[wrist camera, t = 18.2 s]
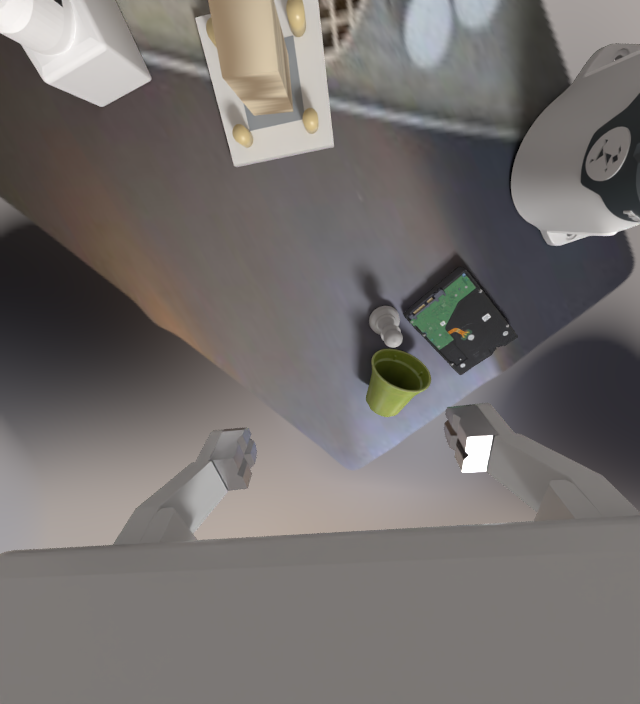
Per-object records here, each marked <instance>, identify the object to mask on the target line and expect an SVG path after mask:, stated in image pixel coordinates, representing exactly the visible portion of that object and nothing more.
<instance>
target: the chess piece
mask: <svg viewBox="0 0 640 704" xmlns="http://www.w3.org/2000/svg"><path fill="white" fill-rule="evenodd" d="M399 323H400V319H399V314H398V312H397V311H396V310H395V309H394V308H393V307H390V306H381V307H379V308H377V309H375V310H374V311H373V312H372V313H371V315H370V318H369V325H370V327H371V328H372V330H373V331H374V332H375V333H377V334H379V335H381V338H382V340H383V341H384V342H385V344H386V345H387V346H388V347H392V348H394V347H398V346H399V345H400V344H401V343H402V340H403V336H402V334H401V330H400V328H399V327H398V326H399Z"/></svg>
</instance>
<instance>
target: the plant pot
mask: <svg viewBox="0 0 640 704" xmlns="http://www.w3.org/2000/svg"><path fill="white" fill-rule="evenodd" d="M371 364H372V375H371V379H370V383H369V387H368V391H367V395H366V401H367V403H368V404H369V406H370V409H371V410H372V411H374V412H375V413H377V414H378V415H381V416H384V417H390V416H395V415H397V414H398V413H399V412H400V411H401V409H402V408H403V407H404V406H405V405H406V404H407V403H408V402H409V401H410V400H411V399H412V398H413V397H414V396H415V395H417V394H418V393H420V392H422V391H424V390H426V389H427V388H428V387H429V385H430V383H431V375H430V372H429V371H428V369H427V368H426V366H425V365H424V364H423V363H422V362H421V361H420V360H418V359H417V358H416V357H414V356H412V355H411V354H408V353H406V352H404V351H401V350H397V349H382V350H379V351H377V352H376V353H375V354H374V355H373V357H372V360H371Z"/></svg>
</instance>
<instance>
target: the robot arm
mask: <svg viewBox="0 0 640 704" xmlns="http://www.w3.org/2000/svg"><path fill="white" fill-rule="evenodd" d="M614 59H615V60H616V61H614ZM613 61H614V62H613ZM511 193H512V198H513V202H514V205H515V207H516V209H517V211H518V212H519V214H520V215H521V216H522V217H523V218H524V219H525V220H526V221H527V222H529V223H531V224H532V225H534V226H536V227H537V228H538V229H539V230H540V231H541V234H542V236H543V238H544V240H545V241H546V243H547V244H549V245H552V246H559V245H563V244H566V243H569V242H572V241H575V240H578V239H581V238H584V237H587V236H590V235H595V236H611V235H615V234H616V233H617V232H618V231H621V230H625V229H628V228H631V227H634V226H636V225H638V224H640V44H610V45H608V46H605V47H603V48H601V49H599V50H597V51H596V52H595V53H594V54H593V55H592V56H591V57H590V59H589V60H588V61H587V63H586V64H585V65H584V67H583V68H582V70H581V71H580V73H579V74H578V76H577V77H576V79H575V80H574V82H573V83H572V84H571V85H570V86H569V87H568V88H567V89H566V90H565V91H564V92H563V93H562V94H561V95H560V96H559V97H557V98H556V99H555V100H554V101H553V102H552V103H551V104H550V105H549V106H548V107H547V108H546V109H545V110H544V111H543V112H542V113H541V114H540V115H539V117H538V118H537V119H536V120H535V122H534V123H533V125H532V126H531V127H530V129H529V131H528V132H527V134H526V136H525V137H524V139H523V141H522V143H521V145H520V148H519V150H518V152H517V155H516V158H515V161H514V165H513V170H512V176H511ZM567 234H568V235H567ZM445 415H446V417H447V419H448V420H447V421H446V422H445V426H444V431H445V437H446V439H447V442H448V445H449V447H450V448H452V449H453V450H455V458H456V460H457V463H458V464H459V467H460V468H461V470H462V472H475V471H487V473H488V474H490V475H491V476H492V477H493V478H495V479H496V480H497V481H498V482H500V483H501V484H502V485H503V486H505V487H506V488H507V489H508V490H510V491H511V492H512V493H513V494H515V495H516V496H517V497H519V498H520V499H521V500H522V501H523V502H525V503H526V504H527V505H528V506H530V507H531V508H532V509H533V510H535V511H536V512H537V514H536V517H535V519H534V521H528V522H512V523H493V524H475V525H457V526H440V527H424V528H423V527H422V528H405V529H387V530H370V531H352V532H335V533H317V534H300V535H282V536H266V537H265V536H264V537H246V538H229V539H211V540H197V539H196V537H195V536H194V535H193V534H194V532H195V531H196V530H197V529H198V527H199V526H200V525H201V524H202V523H203V521H204V520H205V519H206V518H207V517H208V515H209V514H210V513H211V511H212V510H213V509H214V508H215V507H216V505H217V504H218V503H219V502H220V501H221V499H222V498H223V497H224V496H225V495H226V493H227V492H228V490H238V489H246V488H248V486H249V482H250V479H251V475H252V473H251V470H250V468H251V467H252V466H253V465H254V464H255V461H256V454H257V450H256V445H255V442H254V441H253V440H252V439H250V436H251V432H250V430H249V428H235V429H224V430H214V431H212V432H211V433H210V435H209V437H208V439H207V441H206V443H205V444H204V447H203V448H202V450H201V452H200V454H199V456H198V458H197V460H196V462H193V463H191V464H190V465H188V466H187V467H186V468H185V469H183V470H182V471H181V472H180V473H179V474H177V475H176V476H175V477H174V478H173V479H171V480H170V481H169V482H168V483H167V484H165V485H164V486H163V487H162V488H160V489H159V490H158V491H157V492H156V493H154V494H153V495H152V496H151V497H149V498H148V499H147V500H146V501H144V502H143V503H142V504H141V505H140V506H138V507H137V508H136V509H135V511H134V512H133V514H132V515H131V517H130V519H129V520H128V522H127V523H126V525H125V526H124V528H123V530H122V531H121V533H120V534H119V536H118V537H117V539H116V541H115V542H114V544H113V545H105V546H104V545H103V546H85V547H67V548H52V549H51V548H50V549H33V550H32V549H29V550H13V551H7V552H4V553H1V554H0V704H640V512H639V511H637V509H636V508H635V507H634V506H633V505H632V504H631V503H630V502H629V501H628V500H627V499H626V498H625V497H624V496H623V495H622V494H621V493H620V492H619V491H618V490H616V488H614V487H613V485H611V483H609V482H608V481H607V480H606V479H605V478H604V477H603V476H602V475H600V474H598V473H596V472H594V471H592V470H590V469H588V468H586V467H584V466H582V465H580V464H578V463H576V462H574V461H572V460H570V459H568V458H567V457H565V456H563V455H561V454H559V453H556V452H555V451H553V450H551V449H549V448H547V447H545V446H543V445H541V444H539V443H537V442H535V441H533V440H531V439H529V438H527V437H525V436H523V435H521V434H515V433H514V432H513V431H512V429H511V428H510V427H509V426H508V425H507V424H506V422H505V421H504V420H503V419H502V417H501V416H500V415H499V414H498V413H497V412H496V410H495V409H494V408H493V407H492V405H491V404H489V403H481V404H474V405H464V406H454V407H447V409H446V414H445Z"/></svg>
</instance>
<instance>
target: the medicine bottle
mask: <svg viewBox="0 0 640 704" xmlns="http://www.w3.org/2000/svg"><path fill="white" fill-rule="evenodd" d="M0 33H1V34H3V35H5V36H7V37H9V38H11V39H13V40H15V41H16V42H18V43H20V44H21V45H22V47H23V48H24V50H25V52H26V53H27V55H28V56H29V58H30V60H31V61H32V63H33V65H34V66H35V68H36V69H37V71H38V73H39V74H40V76H41V78H42V79H43V80H44V81H45V82H46V83H47V84H49V85H52V86H54V87H56V88H59V89H61V90H63V91H66V92H68V93H70V94H73V95H75V96H77V97H79V98H82V99H84V100H86V101H89V102H91V103H93V104H96V105H98V106H100V107H104V106H106V105H107V104H109V103H111V102H113V101H115V100H117V99H118V98H120V97H122V96H124V95H126V94H128V93H129V92H131V91H133V90H135V89H137V88H138V87H140V86H142V85H144V84H146V83H148V82H149V81H151V75H150V73H149V71H148V69H147V67H146V64H145V62H144V60H143V58H142V56H141V54H140V52H139V50H138V47H137V45H136V43H135V41H134V39H133V37H132V35H131V33H130V30H129V28H128V26H127V24H126V22H125V20H124V18H123V16H122V13H121V11H120V9H119V7H118V5H117V3H116V1H115V0H0Z"/></svg>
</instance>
